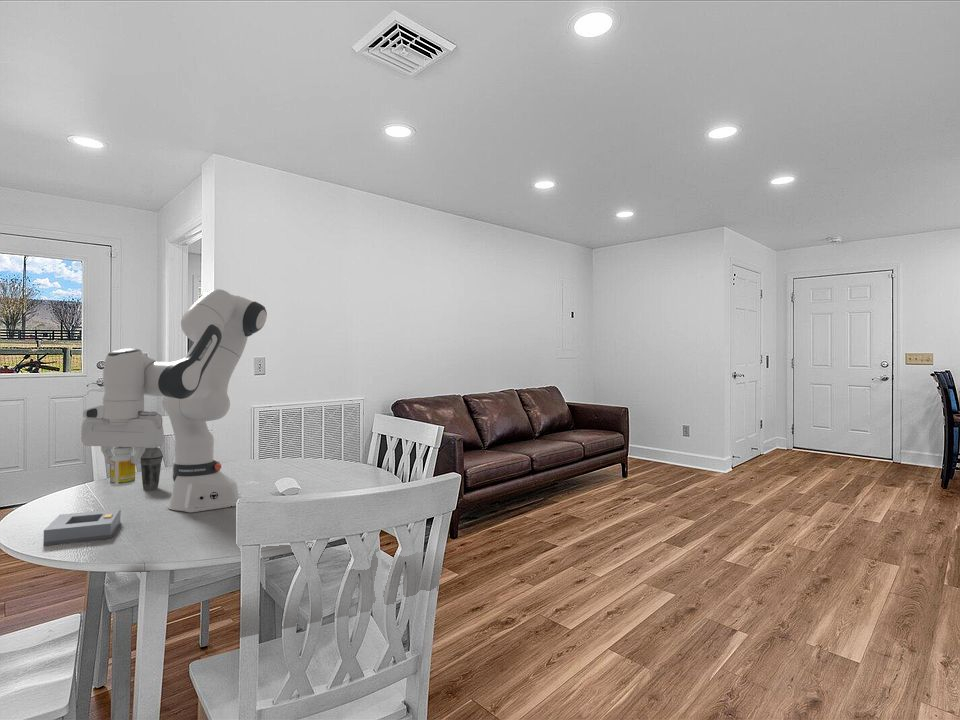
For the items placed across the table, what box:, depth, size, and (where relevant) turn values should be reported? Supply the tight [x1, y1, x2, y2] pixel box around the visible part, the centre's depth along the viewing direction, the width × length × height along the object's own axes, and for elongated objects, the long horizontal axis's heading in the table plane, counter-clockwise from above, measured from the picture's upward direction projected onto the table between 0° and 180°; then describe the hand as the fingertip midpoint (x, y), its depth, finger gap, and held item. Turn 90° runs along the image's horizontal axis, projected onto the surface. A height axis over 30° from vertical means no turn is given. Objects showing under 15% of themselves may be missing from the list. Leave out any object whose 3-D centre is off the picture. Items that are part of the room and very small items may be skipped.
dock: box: [43, 508, 122, 547], centre depth 138 cm, size 14×14×4 cm
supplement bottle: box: [109, 447, 136, 487], centre depth 132 cm, size 5×5×10 cm
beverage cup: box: [140, 447, 164, 491], centre depth 184 cm, size 7×7×20 cm
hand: (123, 463), depth 132 cm, fingers closed on supplement bottle, 5 cm apart
